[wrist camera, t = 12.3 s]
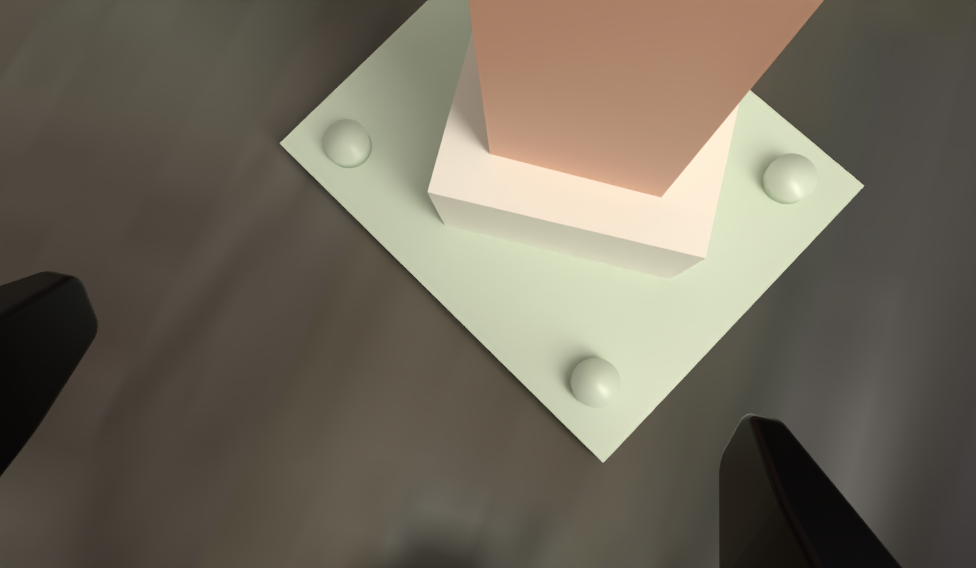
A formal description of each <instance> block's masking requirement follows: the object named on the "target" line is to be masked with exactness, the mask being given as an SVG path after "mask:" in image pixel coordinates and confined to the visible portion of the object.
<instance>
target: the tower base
mask: <svg viewBox="0 0 976 568" xmlns="http://www.w3.org/2000/svg"><path fill="white" fill-rule="evenodd" d="M280 144H281V145H282V146H283V147H284V148H285V149H286V150H287V151H288V152H289V153H290V154H291V155H292V156H293V157H294V158H295V159H296V160H297V161H298V162H299V163H300V164H301V165H302V166H303V167H304V168H305V169H306V170H307V171H308V172H309V173H310V174H311V175H312V176H313V177H314V178H315V179H316V180H317V181H318V182H319V183H320V184H321V185H322V186H323V187H324V188H325V189H326V190H327V191H328V192H329V193H330V194H331V195H332V196H333V197H334V198H335V199H336V200H337V201H338V202H339V203H340V204H341V205H342V206H343V207H344V208H345V209H346V210H347V211H348V212H350V213H351V214H352V215H353V216H354V217H355V218H356V219H357V220H358V221H359V222H360V223H361V224H362V225H363V226H364V227H365V228H366V229H367V230H368V231H369V232H370V233H371V234H372V235H373V236H374V237H375V238H376V239H377V240H378V241H379V242H380V243H381V244H382V245H383V246H384V247H385V248H386V249H387V250H388V251H389V252H390V253H391V254H392V255H393V256H394V257H395V258H396V259H397V260H398V261H399V262H400V263H401V264H402V265H403V266H404V267H405V268H406V269H407V270H408V271H409V272H410V273H411V274H412V275H413V276H414V277H415V278H416V279H417V280H418V281H419V282H420V283H421V284H422V285H423V286H424V287H425V288H426V289H427V290H428V291H430V292H431V293H432V294H433V295H434V296H435V297H436V298H437V299H438V300H439V301H440V302H441V303H442V304H443V305H444V306H445V307H446V308H447V309H448V310H449V311H450V312H451V313H452V314H453V315H454V316H455V317H456V318H457V319H458V320H459V321H460V322H461V323H462V324H463V325H464V326H465V327H466V328H467V329H468V330H469V331H470V332H471V333H472V334H473V335H474V336H475V337H476V338H477V339H478V340H479V341H480V342H481V343H482V344H483V345H484V346H485V347H486V348H487V349H488V350H489V351H490V352H491V353H492V354H493V355H494V356H495V357H496V358H497V359H498V360H499V361H500V362H501V363H502V364H503V365H504V366H505V367H506V368H507V369H508V370H510V371H511V372H512V373H513V374H514V375H515V376H516V377H517V378H518V379H519V380H520V381H521V382H522V383H523V384H524V385H525V386H526V387H527V388H528V389H529V390H530V391H531V392H532V393H533V394H534V395H535V396H536V397H537V398H538V399H539V400H540V401H541V402H542V403H543V404H544V405H545V406H546V407H547V408H548V409H549V410H550V411H551V412H552V413H553V414H554V415H555V416H556V417H557V418H558V419H559V420H560V421H561V422H562V423H563V424H564V425H565V426H566V427H567V428H568V429H569V430H570V431H571V432H572V433H573V434H574V435H575V436H576V437H577V438H578V439H579V440H580V441H581V442H582V443H583V444H584V445H585V446H586V447H587V448H588V449H590V450H591V451H592V452H593V453H594V454H595V455H596V456H597V457H598V458H599V459H600V460H601V461H602V462H603V463H604V462H605V460H606V459H607V458H608V457H609V456H610V455H611V454H612V453H613V452H614V451H615V450H616V449H617V448H618V447H619V446H620V445H621V444H622V442H623V441H624V440H625V439H626V438H627V437H628V436H629V435H630V434H631V433H632V432H633V431H634V430H635V429H636V428H637V427H638V425H639V424H640V423H641V422H642V421H643V420H644V419H645V418H646V417H647V416H648V415H649V414H650V413H651V412H652V411H653V410H654V408H655V407H656V406H657V405H658V404H659V403H660V402H661V401H662V400H663V399H664V398H665V397H666V396H667V395H668V394H669V393H670V392H671V390H672V389H673V388H674V387H675V386H676V385H677V384H678V383H679V382H680V381H681V380H682V379H683V378H684V377H685V376H686V375H687V373H688V372H689V371H690V370H691V369H692V368H693V367H694V366H695V365H696V364H697V363H698V362H699V361H700V360H701V359H702V358H703V356H704V355H705V354H706V353H707V352H708V351H709V350H710V349H711V348H712V347H713V346H714V345H715V344H716V343H717V342H718V341H719V340H720V338H721V337H722V336H723V335H724V334H725V333H726V332H727V331H728V330H729V329H730V328H731V327H732V326H733V325H734V324H735V323H736V321H737V320H738V319H739V318H740V317H741V316H742V315H743V314H744V313H745V312H746V311H747V310H748V309H749V308H750V307H751V306H752V304H753V303H754V302H755V301H756V300H757V299H758V298H759V297H760V296H761V295H762V294H763V293H764V292H765V291H766V290H767V289H768V288H769V286H770V285H771V284H772V283H773V282H774V281H775V280H776V279H777V278H778V277H779V276H780V275H781V274H782V273H783V272H784V271H785V269H786V268H787V267H788V266H789V265H790V264H791V263H792V262H793V261H794V260H795V259H796V258H797V257H798V256H799V255H800V254H801V252H802V251H803V250H804V249H805V248H806V247H807V246H808V245H809V244H810V243H811V242H812V241H813V240H814V239H815V238H816V237H817V236H818V234H819V233H820V232H821V231H822V230H823V229H824V228H825V227H826V226H827V225H828V224H829V223H830V222H831V221H832V220H833V219H834V217H835V216H836V215H837V214H838V213H839V212H840V211H841V210H842V209H843V208H844V207H845V206H846V205H847V204H848V203H849V202H850V200H851V199H852V198H853V197H854V196H855V195H856V194H857V193H858V192H859V191H860V190H861V189H862V188H863V187H864V185H863V184H861V183H860V182H859V181H858V180H857V179H855V178H854V177H853V176H852V175H851V174H849V173H848V172H847V171H846V170H845V169H843V168H842V167H841V166H840V165H839V164H837V163H836V162H835V161H834V160H833V159H831V158H830V157H829V156H828V155H827V154H826V153H824V152H823V151H822V150H821V149H820V148H818V147H817V146H816V145H815V144H814V143H812V142H811V141H810V140H809V139H808V138H806V137H805V136H804V135H803V134H802V133H800V132H799V131H798V130H797V129H796V128H794V127H793V126H792V125H791V124H790V123H788V122H787V121H786V120H785V119H784V118H783V117H781V116H780V115H779V114H778V113H777V112H775V111H774V110H773V109H772V108H771V107H769V106H768V105H767V104H766V103H765V102H763V101H762V100H761V99H760V98H759V97H757V96H756V95H755V94H754V93H753V92H751V91H750V90H749V92H748V93H747V94H746V95H745V97H744V98H743V99H742V100H741V101H740V103H739V104H738V105H737V106H736V107H735V109H734V110H733V111H732V112H731V113H730V115H729V116H728V117H727V118H726V120H725V121H724V122H723V123H722V124H721V126H720V127H719V128H718V129H717V130H716V132H715V133H714V134H713V135H712V137H711V138H710V139H709V140H708V141H707V143H706V144H705V145H704V146H703V147H702V149H701V150H700V151H699V152H698V154H697V155H696V156H695V157H694V158H693V160H692V161H691V162H690V163H689V164H688V166H687V167H686V168H685V169H684V171H683V172H682V173H681V174H680V175H679V177H678V178H677V179H676V180H675V181H674V183H673V184H672V185H671V186H670V188H669V189H668V190H667V191H666V192H665V194H664V195H663V196H662V197H657V196H653V195H649V194H645V193H641V192H637V191H633V190H629V189H626V188H622V187H618V186H614V185H610V184H606V183H602V182H598V181H594V180H590V179H586V178H582V177H578V176H574V175H571V174H567V173H563V172H559V171H555V170H551V169H547V168H543V167H539V166H535V165H531V164H527V163H523V162H519V161H515V160H512V159H508V158H504V157H500V156H496V155H492V154H490V151H489V144H488V137H487V130H486V123H485V116H484V109H483V102H482V95H481V88H480V80H479V73H478V66H477V59H476V52H475V45H474V38H473V31H472V24H471V17H470V10H469V3H468V0H427V1H426V2H425V3H424V4H423V5H422V6H421V7H420V8H419V9H418V10H417V11H416V12H415V13H414V14H413V15H412V16H411V17H410V18H409V19H408V20H407V21H406V22H405V23H404V24H403V25H402V26H401V27H399V28H398V29H397V30H396V31H395V32H394V33H393V34H392V35H391V36H390V37H389V38H388V39H387V40H386V41H385V42H384V43H383V44H382V45H381V46H380V47H379V48H378V49H377V50H376V51H375V52H374V53H373V54H372V55H370V56H369V57H368V58H367V59H366V60H365V61H364V62H363V63H362V64H361V65H360V66H359V67H358V68H357V69H356V70H355V71H354V72H353V73H352V74H351V75H350V76H349V77H348V78H347V79H346V80H345V81H344V82H343V83H341V84H340V85H339V86H338V87H337V88H336V89H335V90H334V91H333V92H332V93H331V94H330V95H329V96H328V97H327V98H326V99H325V100H324V101H323V102H322V103H321V104H320V105H319V106H318V107H317V108H316V109H315V110H314V111H313V112H311V113H310V114H309V115H308V116H307V117H306V118H305V119H304V120H303V121H302V122H301V123H300V124H299V125H298V126H297V127H296V128H295V129H294V130H293V131H292V132H291V133H290V134H289V135H288V136H287V137H286V138H285V139H284V140H282V141H281V142H280Z"/></svg>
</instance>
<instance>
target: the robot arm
mask: <svg viewBox="0 0 976 568" xmlns="http://www.w3.org/2000/svg"><path fill="white" fill-rule="evenodd" d="M97 328H98V321H97V318H96V315H95V313H94V310H93V308H92V305H91V303H90V300H89V297H88V295H87V292H86V290H85V287H84V285H83V283H82V282H81V281H80V280H79V279H78V278H77V277H75V276H71V275H66V274H61V273H56V272H48V271H46V272H41V273H37V274H34V275H31V276H28V277H25V278H22V279H20V280H17V281H14V282H11V283H8V284H5V285H2V286H0V477H1V475H2V474H3V473H4V471H5V470H6V469H7V468H8V466H9V465H10V464H11V462H12V461H13V460H14V459H15V457H16V456H17V455H18V453H19V452H20V451H21V450H22V448H23V447H24V446H25V444H26V443H27V442H28V440H29V439H30V438H31V436H32V435H33V433H34V432H35V431H36V429H37V428H38V426H39V425H40V423H41V422H42V420H43V419H44V417H45V416H46V414H47V413H48V411H49V409H50V408H51V406H52V405H53V403H54V402H55V400H56V398H57V397H58V395H59V394H60V392H61V390H62V389H63V387H64V386H65V384H66V383H67V381H68V379H69V378H70V376H71V375H72V373H73V371H74V370H75V368H76V367H77V365H78V364H79V362H80V360H81V359H82V357H83V356H84V354H85V352H86V351H87V349H88V348H89V346H90V345H91V343H92V341H93V340H94V338H95V336H96V333H97ZM719 568H902V567H901V566H900V564H899V563H898V562H897V561H896V560H895V558H894V557H893V556H892V555H891V553H890V552H889V551H888V550H887V549H886V547H885V546H884V545H883V544H882V542H881V541H880V540H879V539H878V538H877V536H876V535H875V534H874V533H873V531H872V530H871V529H870V528H869V527H868V525H867V524H866V523H865V522H864V520H863V519H862V518H861V517H860V516H859V514H858V513H857V512H856V511H855V510H854V508H853V507H852V506H851V505H850V503H849V502H848V501H847V500H846V499H845V497H844V496H843V495H842V494H841V492H840V491H839V490H838V489H837V488H836V486H835V485H834V484H833V483H832V481H831V480H830V479H829V478H828V477H827V475H826V474H825V473H824V472H823V471H822V469H821V468H820V467H819V466H818V464H817V463H816V462H815V461H814V460H813V458H812V457H811V456H810V455H809V453H808V452H807V451H806V450H805V449H804V447H803V446H802V445H801V444H800V442H799V441H798V440H797V439H796V438H795V436H794V435H793V434H792V433H791V431H790V430H789V429H788V428H787V427H786V425H785V424H784V423H782V422H781V421H780V420H778V419H775V418H770V417H765V416H760V415H755V414H747V415H745V416H744V417H743V418H742V419H741V420H740V422H739V424H738V426H737V427H736V429H735V431H734V433H733V435H732V436H731V438H730V440H729V442H728V444H727V445H726V447H725V449H724V451H723V453H722V456H721V460H720V466H719Z"/></svg>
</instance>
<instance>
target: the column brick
mask: <svg viewBox="0 0 976 568" xmlns="http://www.w3.org/2000/svg"><path fill="white" fill-rule="evenodd" d="M823 1H824V0H468V3H469V10H470V17H471V24H472V31H473V38H474V45H475V52H476V59H477V66H478V73H479V80H480V88H481V95H482V102H483V109H484V116H485V123H486V130H487V137H488V144H489V151H490V154H492V155H496V156H500V157H504V158H508V159H512V160H515V161H519V162H523V163H527V164H531V165H535V166H539V167H543V168H547V169H551V170H555V171H559V172H563V173H567V174H571V175H574V176H578V177H582V178H586V179H590V180H594V181H598V182H602V183H606V184H610V185H614V186H618V187H622V188H626V189H629V190H633V191H637V192H641V193H645V194H649V195H653V196H657V197H662V196H663V195H664V194H665V192H666V191H667V190H668V189H669V188H670V186H671V185H672V184H673V183H674V181H675V180H676V179H677V178H678V177H679V175H680V174H681V173H682V172H683V171H684V169H685V168H686V167H687V166H688V164H689V163H690V162H691V161H692V160H693V158H694V157H695V156H696V155H697V154H698V152H699V151H700V150H701V149H702V147H703V146H704V145H705V144H706V143H707V141H708V140H709V139H710V138H711V137H712V135H713V134H714V133H715V132H716V130H717V129H718V128H719V127H720V126H721V124H722V123H723V122H724V121H725V120H726V118H727V117H728V116H729V115H730V113H731V112H732V111H733V110H734V109H735V107H736V106H737V105H738V104H739V103H740V101H741V100H742V99H743V98H744V97H745V95H746V94H747V93H748V92H749V90H750V89H751V88H752V87H753V86H754V84H755V83H756V82H757V81H758V80H759V78H760V77H761V76H762V75H763V73H764V72H765V71H766V70H767V69H768V67H769V66H770V65H771V64H772V63H773V61H774V60H775V59H776V58H777V56H778V55H779V54H780V53H781V52H782V50H783V49H784V48H785V47H786V46H787V44H788V43H789V42H790V41H791V39H792V38H793V37H794V36H795V35H796V33H797V32H798V31H799V30H800V29H801V27H802V26H803V25H804V24H805V22H806V21H807V20H808V19H809V18H810V16H811V15H812V14H813V13H814V12H815V10H816V9H817V8H818V7H819V5H820V4H821V3H822V2H823Z"/></svg>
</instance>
